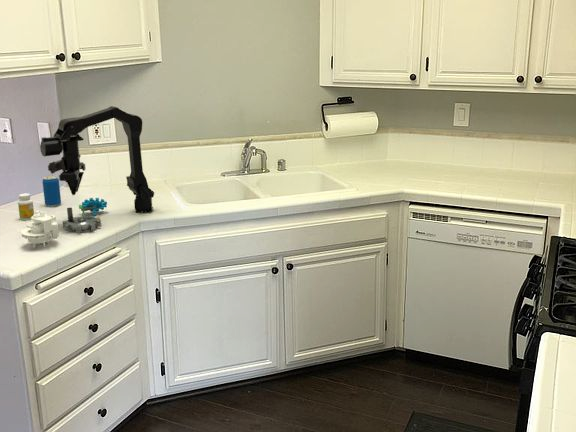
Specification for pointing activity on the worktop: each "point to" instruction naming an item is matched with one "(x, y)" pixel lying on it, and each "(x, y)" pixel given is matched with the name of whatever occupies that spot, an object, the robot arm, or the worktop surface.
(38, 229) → the mechanical part
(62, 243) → the worktop surface
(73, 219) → the sprocket
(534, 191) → the worktop surface
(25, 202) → the supplement bottle
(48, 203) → the beverage can
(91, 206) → the gear
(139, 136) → the robot arm
